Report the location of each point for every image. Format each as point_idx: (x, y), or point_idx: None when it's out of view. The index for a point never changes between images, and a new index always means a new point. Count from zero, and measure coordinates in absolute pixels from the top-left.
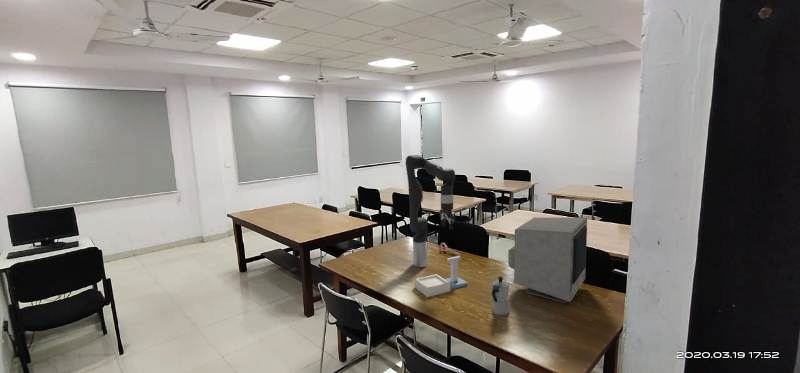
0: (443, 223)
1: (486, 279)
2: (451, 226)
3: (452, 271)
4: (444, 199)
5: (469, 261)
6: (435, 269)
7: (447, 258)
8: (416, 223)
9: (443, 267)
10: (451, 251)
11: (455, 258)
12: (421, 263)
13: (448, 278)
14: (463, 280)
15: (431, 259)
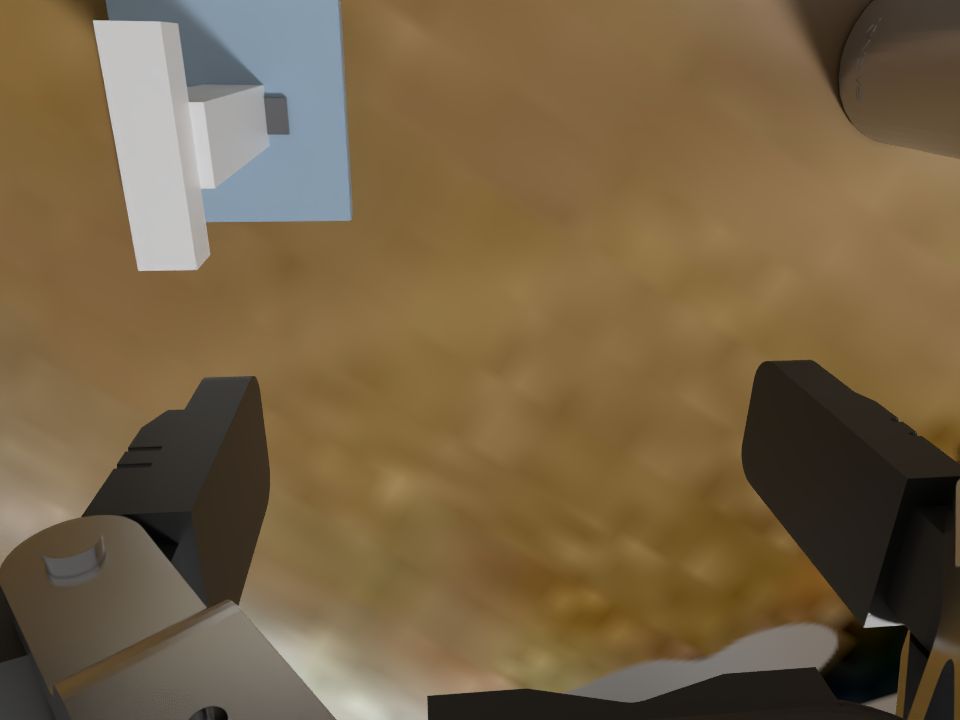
0: (808, 450)
1: None
2: (123, 486)
3: (189, 91)
4: None
5: (665, 535)
6: (702, 149)
7: (149, 21)
8: None
9: (695, 255)
10: None
11: (122, 166)
12: (879, 32)
13: (331, 94)
14: (207, 213)
15: (954, 262)
